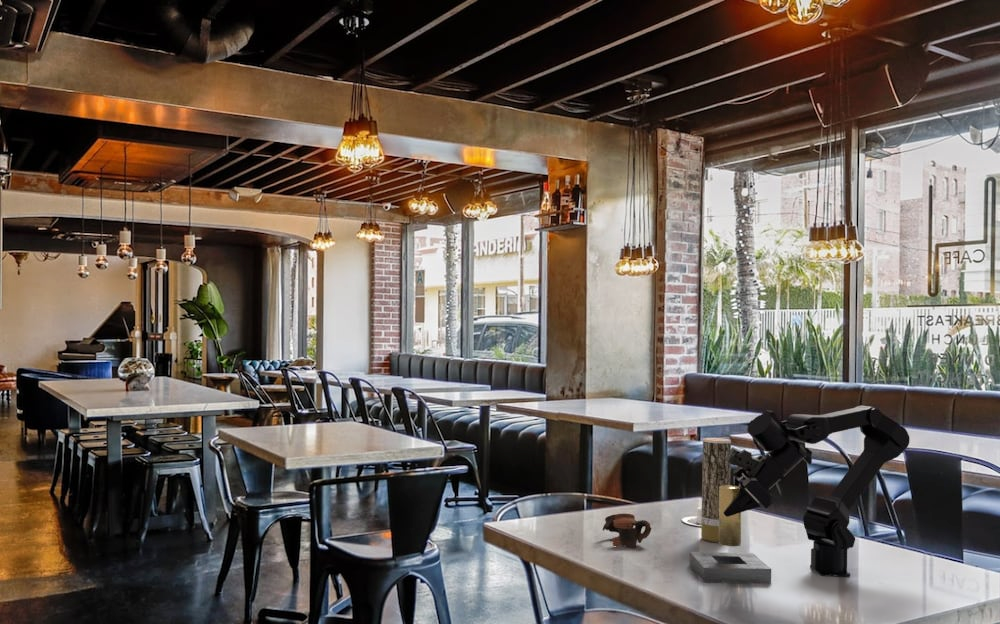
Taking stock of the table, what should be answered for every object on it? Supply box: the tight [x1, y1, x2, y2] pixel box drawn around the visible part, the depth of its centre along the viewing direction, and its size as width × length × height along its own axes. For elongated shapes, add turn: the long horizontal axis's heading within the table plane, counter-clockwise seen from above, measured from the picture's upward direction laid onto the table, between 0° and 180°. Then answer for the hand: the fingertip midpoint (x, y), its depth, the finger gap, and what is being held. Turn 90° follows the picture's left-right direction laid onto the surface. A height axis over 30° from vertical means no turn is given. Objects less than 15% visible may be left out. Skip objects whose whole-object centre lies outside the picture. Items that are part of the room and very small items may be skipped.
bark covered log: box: [700, 437, 732, 543], centre depth 205 cm, size 7×7×25 cm
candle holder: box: [681, 506, 702, 527], centre depth 223 cm, size 12×12×4 cm
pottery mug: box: [602, 513, 652, 548], centre depth 200 cm, size 12×10×8 cm
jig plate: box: [689, 551, 772, 584], centre depth 176 cm, size 14×12×3 cm
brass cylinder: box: [718, 485, 742, 547], centre depth 176 cm, size 5×5×12 cm
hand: (723, 512), depth 176 cm, fingers closed on brass cylinder, 5 cm apart
